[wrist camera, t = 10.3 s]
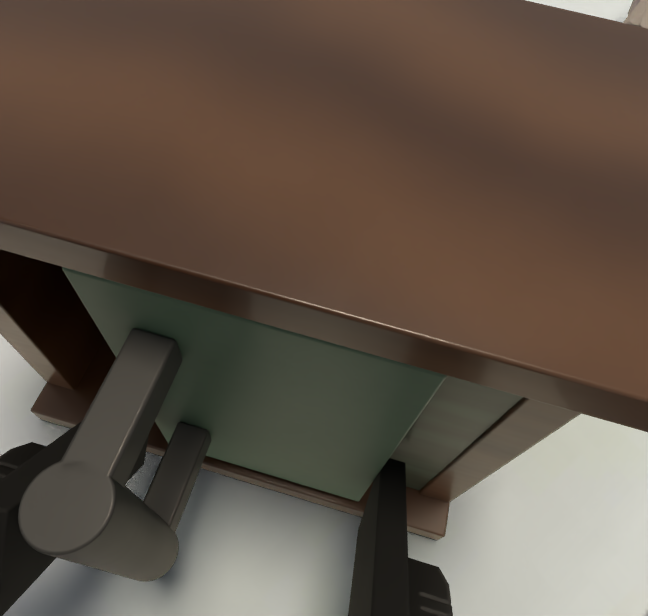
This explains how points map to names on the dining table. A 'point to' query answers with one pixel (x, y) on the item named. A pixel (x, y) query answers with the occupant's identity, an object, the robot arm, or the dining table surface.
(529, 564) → the dining table surface
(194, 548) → the dining table surface
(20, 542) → the robot arm
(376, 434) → the sliding door
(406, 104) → the cupboard
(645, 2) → the bird
